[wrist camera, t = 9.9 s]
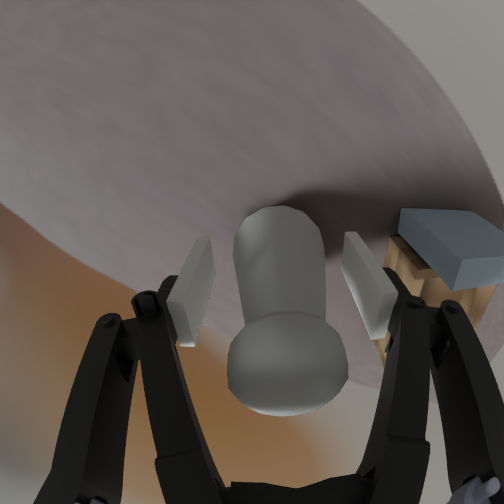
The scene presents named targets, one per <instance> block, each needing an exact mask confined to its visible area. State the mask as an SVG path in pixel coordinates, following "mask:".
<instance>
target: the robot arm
mask: <svg viewBox="0 0 504 504" xmlns="http://www.w3.org/2000/svg"><path fill="white" fill-rule="evenodd" d="M341 271H342V273H343V275H344V277H345V279H346V282H347V284H348V286H349V288H350V291H351V293H352V295H353V298H354V300H355V302H356V305H357V307H358V310H359V312H360V314H361V317H362V319H363V322H364V324H365V327H366V329H367V332H368V334H369V337H370V339H371V340H373V339H381V338H385V335H386V332H387V329H388V331H389V333H390V338H389V341H388V344H387V346H386V349H385V353H386V352H387V354H386V361H385V367H384V373H383V379H382V384H381V390H380V395H379V399H378V404H377V408H376V413H375V417H374V421H373V425H372V429H371V433H370V436H369V440H368V443H367V446H366V450H365V453H364V456H363V459H362V462H361V464H360V466H359V468H358V470H357V471H356V474H351V475H345V476H339V477H333V478H328V479H326V480H323V481H320V482H317V483H314V484H311V485H308V486H305V487H301V488H290V487H284V486H278V485H273V484H268V483H253V482H231V487H225V485H224V483H223V481H222V479H221V477H220V475H219V473H218V471H217V468H216V466H215V464H214V461H213V459H212V456H211V454H210V451H209V448H208V446H207V443H206V441H205V438H204V435H203V432H202V429H201V427H200V424H199V421H198V418H197V415H196V412H195V409H194V406H193V403H192V400H191V397H190V394H189V390H188V387H187V384H186V380H185V377H184V374H183V371H182V367H181V363H180V359H179V356H178V352H177V349H176V346H175V344H176V341H177V338H178V341H179V344H180V346H189V347H195V345H196V342H197V338H198V334H199V331H200V327H201V323H202V320H203V316H204V313H205V309H206V305H207V302H208V298H209V295H210V291H211V288H212V284H213V281H214V278H215V267H214V260H213V253H212V246H211V238H210V236H205V237H198V239H197V240H196V242H195V244H194V246H193V248H192V250H191V252H190V254H189V256H188V258H187V260H186V262H185V264H184V266H183V268H182V270H181V272H180V274H179V275H170V276H168V277H167V278H166V279H165V280H164V281H163V282H162V284H161V286H160V288H159V290H158V292H155V291H150V290H149V291H143V292H140V293H138V294H137V295H135V296H134V297H133V298H132V301H131V304H132V306H133V309H134V312H135V315H136V318H132V319H126V320H122V319H121V317H120V315H119V314H117V313H108V314H105V315H103V316H102V317H100V318H99V319H98V321H97V322H96V325H95V327H94V330H93V332H92V335H91V337H90V339H89V342H88V345H87V347H86V349H85V352H84V355H83V358H82V360H81V363H80V365H79V368H78V371H77V374H76V377H75V380H74V383H73V386H72V389H71V392H70V395H69V398H68V402H67V405H66V408H65V412H64V416H63V419H62V423H61V427H60V431H59V435H58V439H57V443H56V448H55V452H54V458H53V463H52V468H51V471H50V473H49V475H48V477H47V478H46V480H45V482H44V484H43V486H42V488H41V489H40V491H39V493H38V495H37V497H36V499H35V501H34V503H33V504H120V502H121V497H122V487H123V470H124V457H125V447H126V437H127V429H128V421H129V414H130V407H131V400H132V394H133V388H134V382H135V376H136V371H137V365H138V360H140V362H141V370H142V378H143V384H144V391H145V397H146V403H147V409H148V414H149V420H150V424H151V429H152V434H153V438H154V443H155V447H156V451H157V458H156V459H155V468H156V472H157V476H158V479H159V483H160V486H161V490H162V493H163V496H164V500H165V503H166V504H419V502H420V498H421V494H422V489H423V486H424V481H425V477H426V471H427V467H428V461H429V455H430V443H429V442H428V441H426V440H425V432H426V425H427V415H428V403H429V385H430V370H431V374H432V378H433V382H434V386H435V391H436V395H437V400H438V405H439V410H440V415H441V421H442V427H443V434H444V441H445V449H446V458H447V470H448V478H449V484H450V489H451V492H452V496H451V498H450V501H449V502H448V503H447V504H504V403H503V400H502V397H501V394H500V391H499V388H498V385H497V382H496V379H495V377H494V374H493V372H492V369H491V367H490V364H489V361H488V359H487V357H486V354H485V352H484V350H483V348H482V345H481V343H480V341H479V339H478V337H477V335H476V332H475V330H474V328H473V326H472V324H471V322H470V320H469V318H468V317H467V315H466V313H465V311H464V309H463V307H462V306H461V305H460V304H459V303H458V302H456V301H454V300H449V299H447V300H444V301H442V303H441V305H440V308H438V307H430V306H427V304H426V302H425V301H424V300H423V299H422V298H420V297H418V296H414V295H411V293H410V292H409V290H408V289H407V287H406V286H405V284H404V283H402V280H401V279H400V278H399V276H398V275H397V273H396V272H395V271H394V270H392V269H391V268H389V267H383V268H382V267H381V265H380V264H379V263H378V261H377V260H376V258H375V257H374V255H373V254H372V253H371V251H370V250H369V248H368V247H367V246H366V244H365V243H364V241H363V240H362V239H361V237H360V236H359V235H358V233H357V232H345V237H344V248H343V257H342V266H341Z"/></svg>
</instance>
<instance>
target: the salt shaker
mask: <svg viewBox="0 0 504 504" xmlns="http://www.w3.org/2000/svg"><path fill="white" fill-rule="evenodd" d="M233 259H234V265H235V271H236V277H237V282H238V288H239V293H240V299H241V304H242V310H243V315H244V321H245V326H244V328H243V329H242V330H241V331H240V332H239V333H238V335H237V336H236V337H235V338H234V339H233V341H232V343H231V344H230V349H229V353H228V364H227V377H228V388H229V389H230V391H231V392H232V393H233V395H234V396H235V397H236V398H237V400H238V401H239V402H240V403H242V404H243V405H244V406H245V407H247V408H249V409H252V410H254V411H256V412H258V413H261V414H267V415H274V416H291V415H300V414H304V413H307V412H310V411H313V410H316V409H319V408H321V407H322V406H324V405H325V404H326V403H328V402H329V401H331V400H332V399H333V398H334V397H335V396H336V395H337V394H338V393H339V392H340V391H341V389H342V387H343V386H344V384H345V382H346V381H347V379H348V362H347V357H346V353H345V348H344V345H343V342H342V340H341V337H340V335H339V333H338V332H337V331H336V330H335V329H334V328H333V327H331V326H330V325H329V324H328V323H327V322H326V321H325V318H326V288H325V248H324V243H323V240H322V236H321V233H320V230H319V228H318V227H317V226H316V224H315V223H314V222H313V221H312V220H311V219H310V218H309V217H308V216H307V215H306V214H305V213H304V212H302V211H299V210H296V209H293V208H290V207H287V206H284V205H282V206H272V207H263V208H262V209H260V210H258V211H257V212H255V213H253V214H252V215H250V216H248V217H247V218H246V219H245V220H244V222H243V223H242V225H241V227H240V228H239V230H238V231H237V233H236V235H235V236H234V245H233Z"/></svg>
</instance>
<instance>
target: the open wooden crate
mask: <svg viewBox="0 0 504 504" xmlns="http://www.w3.org/2000/svg"><path fill="white" fill-rule="evenodd" d="M384 267H389V268H391V269H392V270H394V271H395V272H396V273H397V275H398V276H399V278H400V279H401V280H402V283H404V284H405V286H406V287H407V289H408V290H409V292H410V293H411V295H414V296H418V297H420V298H422V299H423V300H424V301H425V302H426V304H427V306H430V307H438V308H440V305H441V303H442V301H444V300H447V299H449V300H454V301H456V302H458V303H459V304H460V305H461V306H462V307H463V309H464V311H465V313H466V315H467V317H468V318H469V320H470V322H471V324H472V326H473V328H474V330H476V328H477V326H478V324H479V322H480V320H481V318H482V316H483V314H484V312H485V310H486V307H487V305H488V303H489V301H490V298H491V296H492V293H493V291H494V288H495V286H496V284H494V285H489V286H483V287H477V288H471V289H465V290H458V291H451V290H450V289H449V287H448V286H447V285H446V284H445V283H444V282H443V280H442V279H441V278H440V277H439V276H438V275H437V273H436V272H435V271H434V270H433V269H432V268H431V267H430V266H429V265H428V263H427V262H426V261H425V260H424V259H423V258H422V257H421V256H420V255H419V254H418V253H417V252H416V251H415V250H414V248H413V247H412V246H411V245H410V244H409V243H408V242H407V241H406V240H405V239H404V238H403V237H402V236H389V239H388V246H387V251H386V257H385V262H384ZM389 338H390V333H389V331H388V329H387V332H386V335H385V338H381V339H373V340H374V342H375V345H376V347H377V350H378V353H379V355H380V358H381V361H382V363H383V366H384V367H385V361H386V354H387V352H386V353H385V349H386V346H387V344H388V341H389Z"/></svg>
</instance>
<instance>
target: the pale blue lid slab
mask: <svg viewBox="0 0 504 504" xmlns="http://www.w3.org/2000/svg"><path fill="white" fill-rule="evenodd" d="M398 233H399V234H400V235H401V236H402V237H403V238H404V239H405V240H406V241H407V242H408V243H409V244H410V245H411V246H412V247H413V248H414V250H415V251H416V252H417V253H418V254H419V255H420V256H421V257H422V258H423V259H424V260H425V261H426V262H427V263H428V265H429V266H430V267H431V268H432V269H433V270H434V271H435V272H436V273H437V275H438V276H439V277H440V278H441V279H442V280H443V282H444V283H445V284H446V285H447V286H448V287H449V289H450V290H451V291H458V290H465V289H471V288H477V287H483V286H489V285H494V284H500V283H504V232H503V231H501V230H500V229H498V228H497V227H495V226H494V225H492V224H491V223H490V222H488V221H487V220H485V219H484V218H482V217H480V216H479V215H477V214H476V213H474V212H473V211H463V210H444V209H420V208H401V213H400V220H399V227H398Z"/></svg>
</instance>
